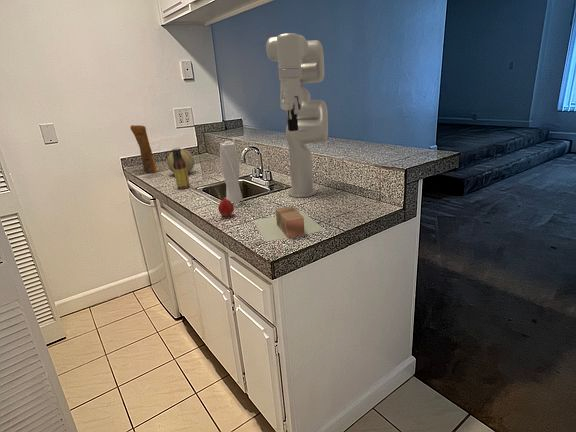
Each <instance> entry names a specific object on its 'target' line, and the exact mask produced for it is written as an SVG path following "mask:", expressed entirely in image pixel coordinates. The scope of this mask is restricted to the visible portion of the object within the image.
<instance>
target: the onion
mask: <svg viewBox="0 0 576 432" xmlns="http://www.w3.org/2000/svg"><path fill="white" fill-rule="evenodd" d="M234 206H235V205H233V204H232V203H231V202H230V201H229V200H227V199H226V197H224V198H223V199H222V200H221V201H220V203H219V204H218V212H219V213H220V215H222V216H223V217H224V218H229V217H230V216H231V215H232V214H233V213H234V210H235V207H234Z"/></svg>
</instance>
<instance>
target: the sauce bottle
mask: <svg viewBox="0 0 576 432" xmlns="http://www.w3.org/2000/svg"><path fill="white" fill-rule="evenodd" d="M181 149H182V148H180V147H176V148H172V149H171V152H173V156H174V162H173V169H174V178H175V183H176V186H177V188H178V189H179V190H185V189H188V188H190V178H189V172H188V173H187V168H186V164H185V161H184V159H183V158H182V156H181Z"/></svg>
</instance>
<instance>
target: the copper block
mask: <svg viewBox="0 0 576 432" xmlns="http://www.w3.org/2000/svg"><path fill="white" fill-rule="evenodd" d="M299 212H300V211H298V210H297V209H296V208H294V206H293V205H292V206H285V207H284V206H283V207H279V208H275V216H276V220H277V226H278V227H279V228H280V229H281V231H282V232H283V233H284V234H285V236H286V237H287V238H286V239H288V237H289V238H294V237H299V236H303V235H304V234H305V231H304V217H303V216H302V215H301V214H300V213H299ZM305 235H306V234H305ZM305 235H304V236H305Z"/></svg>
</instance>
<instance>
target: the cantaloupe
mask: <svg viewBox="0 0 576 432" xmlns="http://www.w3.org/2000/svg"><path fill="white" fill-rule="evenodd" d="M180 149H181V156H182V158H183V159H184V161H185V164H186V168H187V173H188V174H189V173H190V172H191V171H192V170H193V169H194V166H195V159H194V156H193V155H192V154H191V152H190V151H189V150H186V149H182V148H180ZM166 162H167V166H168V169H169V170H170V171H171V172H172V173H174V169H173V162H174V156H173V152H172V151H171V152H170V153H169V154H168V156H167V159H166Z"/></svg>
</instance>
